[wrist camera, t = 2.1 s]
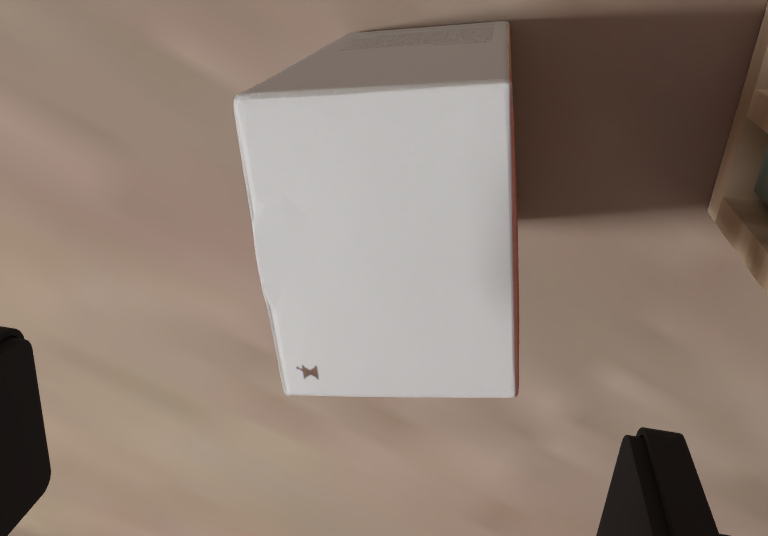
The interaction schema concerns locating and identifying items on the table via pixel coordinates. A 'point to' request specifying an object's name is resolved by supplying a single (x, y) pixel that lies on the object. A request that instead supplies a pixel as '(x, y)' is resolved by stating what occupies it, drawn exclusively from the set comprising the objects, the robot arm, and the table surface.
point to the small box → (389, 213)
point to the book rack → (747, 169)
